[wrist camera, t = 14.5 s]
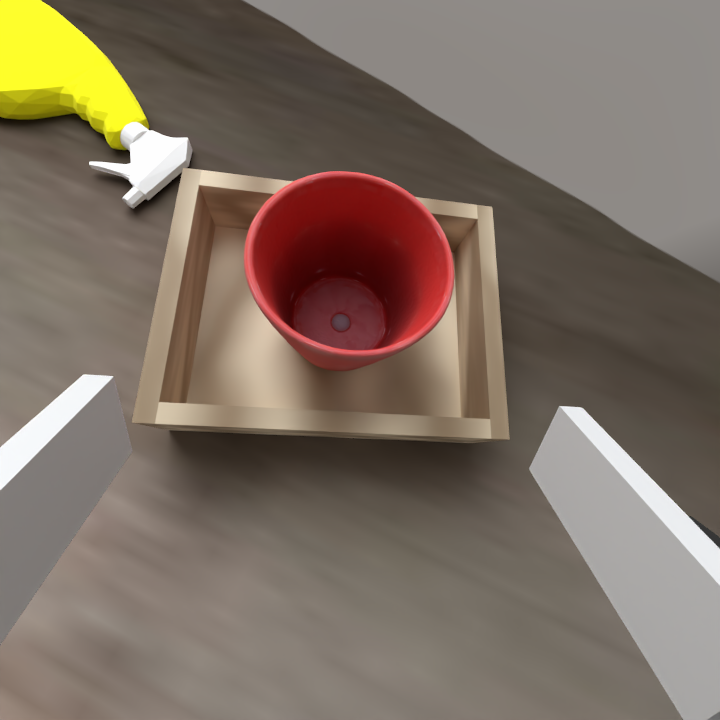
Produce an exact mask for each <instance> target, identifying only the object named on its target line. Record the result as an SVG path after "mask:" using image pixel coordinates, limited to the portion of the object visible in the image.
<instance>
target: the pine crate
mask: <svg viewBox="0 0 720 720" xmlns="http://www.w3.org/2000/svg"><path fill="white" fill-rule="evenodd" d="M290 183H292V181H284V180H276V179H268V178H260V177H252V176H244V175H237V174H229V173H221V172H213V171H205V170H197V169H189V168H183V170H182V175H181V180H180V185H179V190H178V195H177V200H176V205H175V210H174V215H173V220H172V225H171V230H170V235H169V240H168V245H167V250H166V255H165V260H164V265H163V270H162V275H161V279H160V284H159V289H158V294H157V299H156V304H155V309H154V314H153V319H152V324H151V329H150V334H149V339H148V344H147V349H146V354H145V359H144V364H143V369H142V374H141V379H140V384H139V389H138V394H137V399H136V404H135V409H134V414H133V419H132V423H136V424H141V425H146V426H151V427H156V428H161V429H166V430H176V431H200V432H223V433H246V434H269V435H293V436H316V437H339V438H363V439H386V440H409V441H433V442H456V443H479V442H489V441H500V440H510V438H509V425H508V411H507V398H506V385H505V371H504V358H503V345H502V331H501V318H500V305H499V291H498V278H497V264H496V251H495V238H494V224H493V211H492V207H488V206H481V205H473V204H465V203H457V202H449V201H441V200H433V199H425V198H418V197H415V198H416V199H418V200H419V201H420V202H421V203H422V204H423V205H424V206H425V207H426V208H427V209H428V210H429V211H430V213H431V214H432V215H433V216H434V218H435V219H436V221H437V222H438V223H439V225H440V226H441V228H442V230H443V232H444V234H445V236H446V238H447V240H448V243H449V246H450V249H451V252H452V256H453V262H454V275H455V278H454V288H453V293H452V297H451V300H450V303H449V305H448V308H447V310H446V312H445V314H444V316H443V317H442V319H441V320H440V321H439V323H438V324H437V325H436V326H435V327H434V328H433V330H432V331H430V332H429V333H428V334H427V335H426V336H425V337H423V338H422V339H421V340H419V341H418V342H416V343H415V344H414V345H412V346H410V347H409V348H407V349H405V350H403V351H401V352H399V353H397V354H395V355H393V356H390V357H388V358H385V359H383V360H380V361H378V362H375V363H373V364H370V365H367V366H364V367H361V368H358V369H354V370H350V371H331V370H326V369H323V368H320V367H318V366H316V365H314V364H312V363H310V362H309V361H308V360H306V359H305V358H304V357H303V356H302V355H301V354H299V353H298V352H297V351H296V350H295V349H294V348H293V347H292V346H291V345H290V344H289V343H288V342H287V341H286V340H285V339H284V338H283V337H282V336H281V335H280V334H279V332H278V331H277V330H276V329H275V328H274V327H273V326H272V324H271V323H270V322H269V321H268V319H267V318H266V317H265V316H264V314H263V313H262V311H261V310H260V308H259V307H258V305H257V304H256V302H255V300H254V298H253V296H252V294H251V292H250V289H249V286H248V283H247V280H246V276H245V269H244V248H245V241H246V237H247V234H248V230H249V228H250V225H251V223H252V221H253V219H254V217H255V216H256V214H257V213H258V211H259V210H260V208H261V207H262V206H263V205H264V203H265V202H266V201H267V200H268V199H269V198H270V197H272V196H273V195H274V194H275V193H276V192H277V191H279V190H280V189H282V188H283V187H285V186H286V185H288V184H290Z"/></svg>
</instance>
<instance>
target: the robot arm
mask: <svg viewBox="0 0 720 720" xmlns="http://www.w3.org/2000/svg"><path fill="white" fill-rule="evenodd" d="M131 453H132V448H131V444H130V440H129V436H128V432H127V428H126V424H125V420H124V415H123V411H122V407H121V403H120V399H119V395H118V391H117V387H116V383H115V379H114V376H100V375H85V374H84V375H82V376H81V377H80V378H79V379H78V380H77V381H76V382H74V383H73V384H72V385H71V386H70V387H69V388H68V389H66V390H65V391H64V392H63V393H62V394H61V395H60V396H58V397H57V398H56V399H55V400H54V401H53V402H52V403H51V404H49V405H48V406H47V407H46V408H45V409H44V410H43V411H41V412H40V413H39V414H38V415H37V416H36V417H35V418H33V419H32V420H31V421H30V422H29V423H28V424H27V425H25V426H24V427H23V428H22V429H21V430H20V431H19V432H17V433H16V434H15V435H14V436H13V437H12V438H11V439H9V440H8V441H7V442H6V443H5V444H4V445H3V446H1V447H0V645H1V643H2V642H3V640H4V639H5V637H6V636H7V634H8V633H9V632H10V630H11V629H12V627H13V626H14V624H15V623H16V621H17V620H18V618H19V617H20V615H21V614H22V612H23V611H24V610H25V608H26V607H27V605H28V604H29V602H30V601H31V599H32V598H33V596H34V595H35V593H36V592H37V590H38V589H39V588H40V586H41V585H42V583H43V582H44V580H45V579H46V577H47V576H48V574H49V573H50V571H51V570H52V568H53V567H54V566H55V564H56V563H57V561H58V560H59V558H60V557H61V555H62V554H63V552H64V551H65V549H66V548H67V546H68V545H69V544H70V542H71V541H72V539H73V538H74V536H75V535H76V533H77V532H78V530H79V529H80V527H81V526H82V525H83V523H84V522H85V520H86V519H87V517H88V516H89V514H90V513H91V511H92V510H93V508H94V507H95V505H96V504H97V503H98V501H99V500H100V498H101V497H102V495H103V494H104V492H105V491H106V489H107V488H108V486H109V485H110V483H111V482H112V481H113V479H114V478H115V476H116V475H117V473H118V472H119V470H120V469H121V467H122V466H123V464H124V463H125V461H126V460H127V459H128V457H129V456H130V454H131ZM529 470H530V472H531V473H532V475H533V477H534V478H535V480H536V481H537V483H538V485H539V486H540V488H541V490H542V491H543V493H544V494H545V496H546V498H547V499H548V501H549V503H550V504H551V506H552V507H553V509H554V511H555V512H556V514H557V516H558V517H559V519H560V520H561V522H562V524H563V525H564V527H565V529H566V530H567V532H568V533H569V535H570V537H571V538H572V540H573V541H574V543H575V545H576V546H577V548H578V550H579V551H580V553H581V554H582V556H583V558H584V559H585V561H586V563H587V564H588V566H589V567H590V569H591V571H592V572H593V574H594V576H595V577H596V579H597V580H598V582H599V584H600V585H601V587H602V589H603V590H604V592H605V593H606V595H607V597H608V598H609V600H610V601H611V603H612V605H613V606H614V608H615V610H616V611H617V613H618V614H619V616H620V618H621V619H622V621H623V623H624V624H625V626H626V627H627V629H628V631H629V632H630V634H631V636H632V637H633V639H634V640H635V642H636V644H637V645H638V647H639V649H640V650H641V652H642V653H643V655H644V657H645V658H646V660H647V662H648V663H649V665H650V666H651V668H652V670H653V671H654V673H655V674H656V676H657V678H658V679H659V681H660V683H661V684H662V686H663V687H664V689H665V691H666V692H667V694H668V696H669V697H670V699H671V700H672V702H673V704H674V705H675V707H676V709H677V710H678V712H679V713H680V715H681V717H682V718H683V720H720V538H719V537H718V536H717V535H716V534H715V533H713V532H712V531H710V530H709V529H708V528H706V527H705V526H704V525H702V524H701V523H699V522H698V521H697V520H695V519H694V518H693V517H691V516H687V515H686V514H685V513H684V512H683V511H682V510H681V509H680V508H679V506H678V505H677V504H676V503H675V502H674V501H673V500H672V499H671V498H670V497H669V496H668V495H667V494H666V493H665V492H664V491H663V490H662V489H661V488H660V487H659V486H658V485H657V484H656V483H655V482H654V481H653V480H652V479H651V478H650V477H649V476H648V475H647V474H646V473H645V472H644V471H643V470H642V469H641V468H640V467H639V466H638V464H637V463H636V462H635V461H634V460H633V459H632V458H631V457H630V456H629V455H628V454H627V453H626V452H625V451H624V450H623V449H622V448H621V447H620V446H619V445H618V444H617V443H616V442H615V441H614V440H613V439H612V438H611V437H610V436H609V435H608V434H607V433H606V432H605V431H604V430H603V429H602V428H601V427H600V426H599V425H598V424H597V422H596V421H595V420H594V419H593V418H592V417H591V416H590V415H589V414H588V413H587V412H586V411H585V410H584V409H583V408H581V407H566V406H559V408H558V410H557V412H556V414H555V416H554V418H553V420H552V423H551V425H550V427H549V429H548V431H547V433H546V435H545V437H544V439H543V441H542V443H541V445H540V447H539V449H538V452H537V454H536V456H535V458H534V460H533V462H532V464H531V466H530V468H529Z"/></svg>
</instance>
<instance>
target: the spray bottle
mask: <svg viewBox="0 0 720 720" xmlns="http://www.w3.org/2000/svg"><path fill="white" fill-rule="evenodd" d="M72 113H75V114H78V115H79V116H80V117H81V118H82V119H83V120H86V121H89V122H90V124H91V127H92V128H93V129H95V130H96V131H97V132H100V133H102V134H104V135H105V138H106V141H107V142H108V144H109V145H110V147H111V148H114V149H118V150H127V149H128V150H129V151H130V159H131V163H129V164H116V163H107V162H90V163H89V165H90V167H91V168H93V169H97V170H100V171H104V172H107V173H111V174H114V175H118V176H122V177H124V178H125V179H127V180H129V181H130V183H131V184H132V186H133V188H132V189H131V190H130V191H129V192H128V193H127V194H126V195H125V196H124V197H123V198H122V199H123V200H124V202H125V203H126V204H127V205H129V206H130V207H131V208H135V207H136V206H137V205H138V204H140V203H141V202H142V201H143V200H145V199H146V200H149V199H151V198H152V197H153V196H154V195H155V194H157V193H158V192H159V191H160V190H161V189H162V188H164V187H165V186H166V185H167V184H168V183H169V182H171V181H172V180H173V179H174V178H175V177H177V176H178V175H179V174H180V173H181V172H182V170H183V168H187V167H188V166H189V163H190V159H191V155H192V148H191V145H190V142H189V139H188V138H172V137H168V136H164V135H161V134H159V133H157V132H155V131H153V130H151V131H149V124H148V121H147V119H146V117H145V115H144V113H143V111H142V109H141V107H140V105H139V103H138V101H137V100H136V98H135V97H134V95H133V93H132V92H131V90H130V89H129V87H128V86H127V84H126V82H125V81H124V80H123V78H122V77H121V75H120V74H119V73H118V71H117V70H116V69H115V67H114V66H113V64H112V63H111V62H110V60H109V59H108V58H107V57H106V56H105V55H104V54H103V53H102V52H101V51H100V50H99V48H98V47H97V46H96V45H95V44H94V43H93V42H92V41H91V40H89V39H88V38H87V37H86V36H85V35H84V34H83V33H82V32H80V31H79V30H78V29H77V28H76V27H75V26H73V25H72V24H71V23H70V22H69V21H68V20H66V19H65V18H64V17H63V16H62V15H60V14H59V13H58V12H57V11H56V10H54V9H53V8H51V7H50V6H48V5H47V4H45V3H44V2H42V1H41V0H0V117H3V118H7V119H18V120H23V119H40V118H48V117H54V116H60V115H67V114H72Z"/></svg>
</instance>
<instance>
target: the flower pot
mask: <svg viewBox="0 0 720 720" xmlns="http://www.w3.org/2000/svg"><path fill="white" fill-rule="evenodd" d="M244 269H245V276H246V280H247V283H248V286H249V289H250V292H251V294H252V296H253V298H254V300H255V302H256V304H257V305H258V307H259V308H260V310H261V311H262V313H263V314H264V316H265V317H266V318H267V319H268V321H269V322H270V323H271V324H272V326H273V327H274V328H275V329H276V330H277V331H278V332H279V334H280V335H281V336H282V337H283V338H284V339H285V340H286V341H287V342H288V343H289V344H290V345H291V346H292V347H293V348H294V349H295V350H296V351H297V352H298V353H299V354H301V355H302V356H303V357H304V358H305V359H306V360H308V361H309V362H310V363H312V364H314V365H316V366H318V367H320V368H323V369H326V370H331V371H350V370H354V369H358V368H361V367H364V366H367V365H370V364H373V363H375V362H378V361H380V360H383V359H385V358H388V357H390V356H393V355H395V354H397V353H399V352H401V351H403V350H405V349H407V348H409V347H410V346H412V345H414V344H415V343H416V342H418V341H419V340H421V339H422V338H423V337H425V336H426V335H427V334H428V333H429V332H430V331H432V330H433V328H434V327H435V326H436V325H437V324H438V323H439V321H440V320H441V319H442V317H443V316H444V314H445V312H446V310H447V308H448V305H449V303H450V300H451V297H452V293H453V288H454V278H455V275H454V262H453V256H452V252H451V249H450V246H449V243H448V240H447V238H446V236H445V234H444V232H443V230H442V228H441V226H440V225H439V223H438V222H437V221H436V219H435V218H434V216H433V215H432V214H431V213H430V211H429V210H428V209H427V208H426V207H425V206H424V205H423V204H422V203H421V202H420V201H419V200H418V199H416V198H415V197H414V196H413V195H411V194H410V193H409V192H407V191H406V190H404V189H403V188H401V187H399V186H397V185H396V184H394V183H391V182H389V181H387V180H384V179H382V178H379V177H375V176H372V175H368V174H363V173H356V172H344V171H334V172H324V173H318V174H314V175H310V176H307V177H304V178H301V179H299V180H296V181H294V182H292V183H290V184H288V185H286V186H285V187H283V188H282V189H280V190H279V191H277V192H276V193H275V194H274V195H273V196H272V197H270V198H269V199H268V200H267V201H266V202H265V203H264V205H263V206H262V207H261V208H260V210H259V211H258V213H257V214H256V216H255V217H254V219H253V221H252V223H251V225H250V228H249V230H248V234H247V237H246V241H245V248H244Z"/></svg>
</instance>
